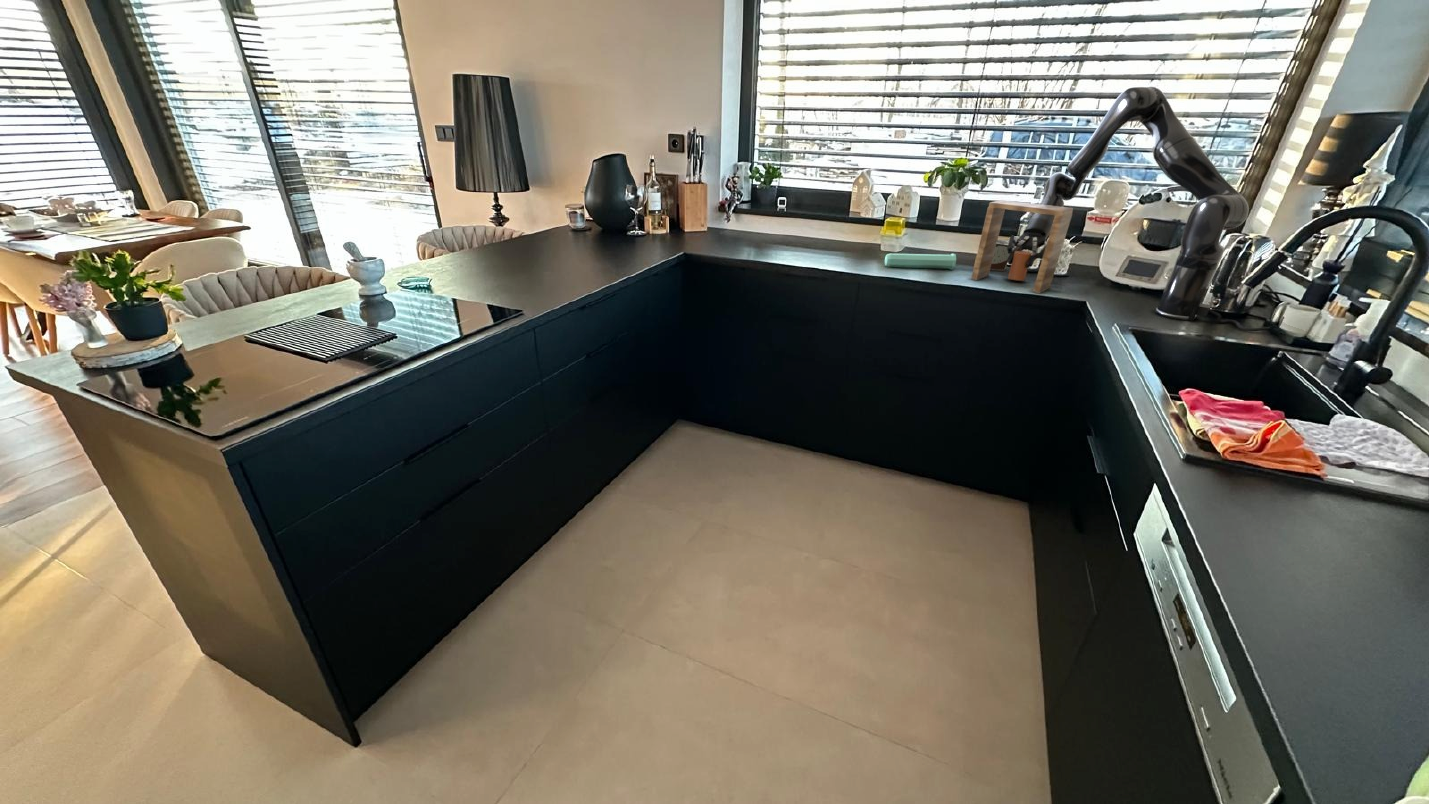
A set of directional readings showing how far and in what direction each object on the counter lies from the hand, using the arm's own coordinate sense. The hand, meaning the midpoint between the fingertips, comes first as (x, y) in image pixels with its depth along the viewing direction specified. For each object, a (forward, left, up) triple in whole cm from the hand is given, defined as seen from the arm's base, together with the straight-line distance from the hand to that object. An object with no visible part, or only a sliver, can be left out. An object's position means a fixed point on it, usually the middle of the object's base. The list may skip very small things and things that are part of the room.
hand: (1018, 264), depth 189 cm
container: (+32, +7, -6) cm, 33 cm away
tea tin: (0, -2, -5) cm, 6 cm away
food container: (+14, -14, -6) cm, 21 cm away
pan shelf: (0, +3, -6) cm, 7 cm away
